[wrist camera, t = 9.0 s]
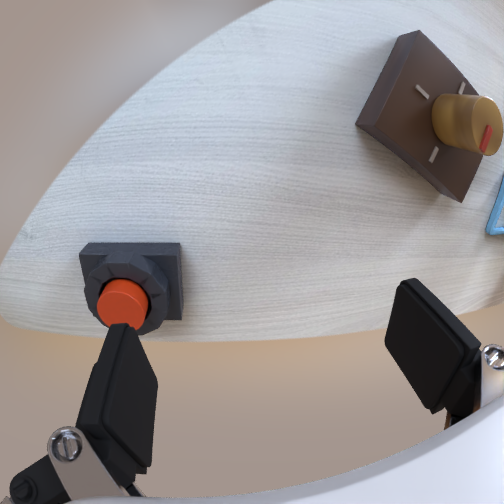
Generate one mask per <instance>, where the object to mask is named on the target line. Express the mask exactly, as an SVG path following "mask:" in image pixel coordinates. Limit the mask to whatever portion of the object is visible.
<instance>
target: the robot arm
mask: <svg viewBox="0 0 504 504" xmlns="http://www.w3.org/2000/svg"><path fill="white" fill-rule="evenodd" d="M385 346H386V348H387V349H388V351H389V352H390V354H391V355H392V357H393V358H394V360H395V361H396V363H397V364H398V366H399V367H400V369H401V371H402V372H403V374H404V375H405V377H406V378H407V380H408V381H409V383H410V384H411V386H412V388H413V389H414V391H415V392H416V394H417V396H418V397H419V399H420V400H421V402H422V404H423V405H424V407H425V408H427V409H430V411H431V413H432V414H434V413H436V412H438V411H440V410H442V409H443V408H444V407H445V408H446V410H447V416H446V422H445V427H444V431H442V432H440V433H438V434H436V435H435V436H433V437H431V438H429V439H427V440H425V441H423V442H421V443H419V444H416V445H414V446H412V447H410V448H408V449H406V450H404V451H401V452H399V453H397V454H394V455H392V456H389V457H387V458H385V459H382V460H379V461H377V462H374V463H372V464H369V465H366V466H363V467H360V468H358V469H355V470H352V471H348V472H345V473H342V474H339V475H336V476H332V477H328V478H325V479H321V480H317V481H313V482H309V483H305V484H300V485H296V486H291V487H286V488H282V489H275V490H270V491H263V492H256V493H249V494H241V495H231V496H218V497H197V498H159V497H146V496H145V494H144V493H143V492H142V491H141V490H140V489H139V487H138V486H137V485H136V484H135V482H134V481H135V476H136V474H146V473H147V467H150V466H151V462H152V446H153V433H154V432H153V431H154V420H155V410H156V398H157V390H158V382H157V378H156V376H155V374H154V371H153V369H152V367H151V365H150V363H149V361H148V359H147V356H146V354H145V352H144V349H143V347H142V345H141V342H140V340H139V337H138V335H137V332H136V330H135V328H134V327H130V326H129V324H128V323H117V324H111V326H110V328H109V330H108V333H107V336H106V338H105V341H104V344H103V347H102V350H101V353H100V355H99V358H98V361H97V363H95V364H94V366H93V369H92V372H91V375H90V378H89V381H88V384H87V387H86V390H85V394H84V397H83V400H82V404H81V408H80V411H79V415H78V418H77V422H76V426H75V427H71V426H67V427H62V428H59V429H57V430H56V431H55V432H54V433H53V434H52V435H51V436H50V438H49V441H48V444H47V451H48V455H46V456H45V457H43V458H42V459H40V460H39V461H37V462H35V463H34V464H32V465H31V466H30V467H28V468H26V469H25V470H23V471H21V472H20V473H18V474H17V475H16V476H15V477H14V478H13V479H12V481H11V483H10V495H11V497H10V498H9V497H7V496H6V497H5V498H4V500H3V501H2V502H1V503H0V504H504V348H503V347H502V346H499V345H496V344H491V345H487V346H485V347H484V348H483V350H482V352H481V351H480V349H479V348H480V346H481V343H480V341H479V340H478V339H477V338H476V337H475V336H474V335H473V334H472V333H471V332H470V331H469V330H468V329H467V328H466V326H465V325H464V324H463V323H462V322H461V321H460V320H459V319H458V318H457V317H456V316H455V315H454V314H453V313H452V312H451V311H450V310H449V309H448V308H447V307H446V306H445V305H444V304H443V303H442V302H441V301H440V300H439V299H438V298H437V297H436V296H435V295H434V294H433V293H432V292H431V291H430V290H429V289H428V288H426V287H425V286H424V285H423V284H422V283H421V282H420V281H419V280H418V279H416V278H412V279H407V280H403V281H401V283H400V285H399V286H398V287H397V289H396V294H395V299H394V303H393V308H392V312H391V316H390V320H389V324H388V328H387V332H386V336H385Z"/></svg>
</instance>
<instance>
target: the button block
mask: <svg viewBox="0 0 504 504" xmlns="http://www.w3.org/2000/svg"><path fill="white" fill-rule="evenodd" d="M79 258H80V263H81V268H82V273H83V277H84V282H85V288H84V293H85V297H86V301H87V304H88V308H89V310H90V311H91V312H92V313H93V316H95V317H96V318H97V319H98V320H99V321H100V322H101V324H103V325H104V326H106V327H108V328H110V327H109V326H107V325H106V324H105V323H104V322H103V321H102V319H101V318H100V316H99V314H98V311H97V303H98V300H99V298H100V296H101V294H102V292H103V290H104V288H105V287H106V285H107V284H108V283H109V282H111V281H113V280H115V279H128V280H131V281H133V282H135V283H137V284H138V285H139V286H140V287H142V289H143V290H144V291H145V293H146V295H147V297H148V309H147V312H146V316H145V319H144V322H143V324H142V326H141V327H140V328H139V329H137V330H136V332H137V335H144V334H146V333H149V332H151V331H153V330H155V329H158V328H159V327H160V325H161V324H162V322H163V320H182V313H183V291H182V275H181V255H180V243H88V244H87V245H86V246H85V247H84V248H83V250H82V251H81V252H80V253H79Z"/></svg>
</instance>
